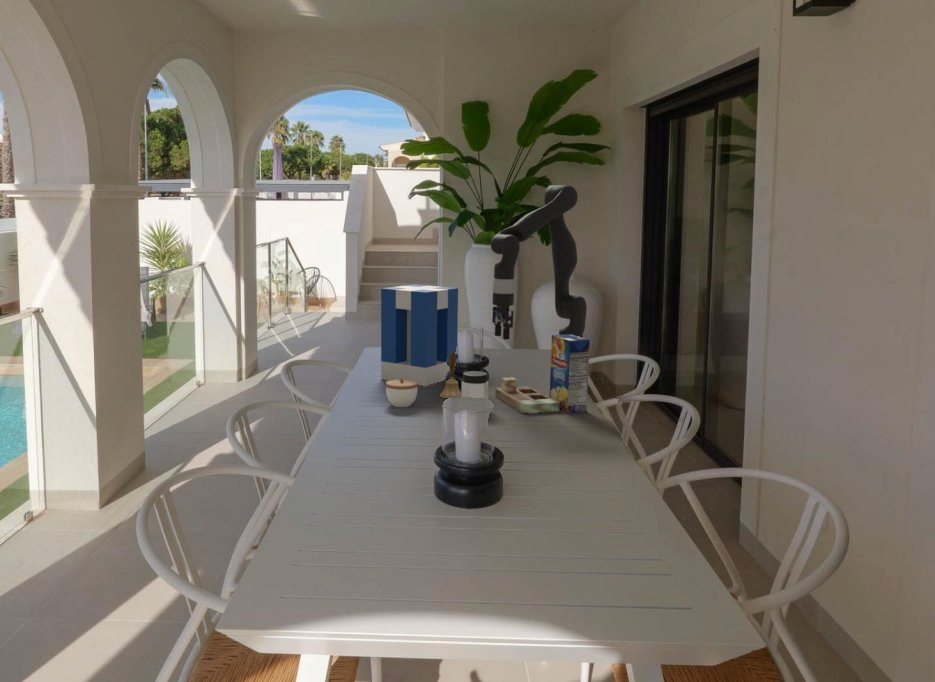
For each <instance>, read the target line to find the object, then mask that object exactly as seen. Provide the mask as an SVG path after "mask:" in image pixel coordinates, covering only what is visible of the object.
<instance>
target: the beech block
mask: <svg viewBox="0 0 935 682" xmlns="http://www.w3.org/2000/svg"><path fill="white" fill-rule="evenodd" d="M517 382H518V379H517V378H515V377H513V376H512V377H502V378H501V388H502V390H504V391H516V388H517V387H518V386H517Z"/></svg>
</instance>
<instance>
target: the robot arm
mask: <svg viewBox="0 0 935 682" xmlns="http://www.w3.org/2000/svg"><path fill="white" fill-rule="evenodd" d="M543 200H544V201H543V202H544V205H543V206H542V207H539V208H537V209H535V210H533V211H530V212H529V213H527V214H525V215H524V216H522V217H521V218H519V219H518V220H517V222H515V223H514V224H513V225H511V226H509V227H507V228H504V229H502V231H501V230H500V231H499V232H498V233H497V234H495V235H494V236H493V237H492V240H491V242H490V249H491V250H492V252H493V253H495V254H497V255H502V256H501V259H500V261H496V262H495V264H494V266H493V268H494V271H493V283H492V305H494V306H492V321H491V322H492V323H493V325H494V336H495V337H501V336H502V339H503V340H510V335H511V334H510V333H511V332H510V330H511V329H512V328H513V327H514V310H511V309H510V307H512V306H513V305H514V304H515V266H516V264H517V260H518V256H519V253H520V247H521V246H520V243H523V242H525V241H527V240H528V239H529V238H530V237H532V236H533V235H534V234H536V233H537V232H538V231H539V230H540V229H541V228H543V227H545V226H546V225H547V224H548V227H549V228H548V229H549V236H550V243H551V244H550V245H551V246H550V247H551V255H552V265H553V273H554V308H555V313H556V314H557V315H556V316H558V317H559V318H560V319H563V320H564V319H565V320H569V323H568V325H567V326H566V327H562V328H560V329H559V331H558V335H567V334H572V335H575V336H579V337H582V338H584V332H585V329H586V320H587V310H588V309H587V301H586V299H585V298H584V297H583V296H580V295H571V294H570V285H569V284H570V280H571V277H572V275H573V274H574V271H575V268H576V267H577V264H578V252H577V245H576V244H577V243H576V241H575V239H574V237H573V234H572V233H571V231H570V230H569V228H568V226H567V224H566V221H565V217H564V214H565V213H567V212H568V211H571V210H572V209H573V208H575V206H576V204H577V203H578V192H577V190H576V188H575V187H573V186H572V185H567V184H552V185H549V186H547V188H546V189H545V191H544V199H543ZM502 328H503V329H502Z"/></svg>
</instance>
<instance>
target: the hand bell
mask: <svg viewBox="0 0 935 682" xmlns="http://www.w3.org/2000/svg"><path fill="white" fill-rule="evenodd" d="M455 366H456V356H455V352H451V354H450V357H449V367H450V379H448V380H445V384H444V388H443V391H441V393H440V394H439V397H441V398H442V399H446V398H450V397H460V396H461V389H460V386H459V381H458V380H456V379H455V378H454V376H455V375H454V369H455Z"/></svg>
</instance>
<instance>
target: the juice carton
mask: <svg viewBox="0 0 935 682" xmlns="http://www.w3.org/2000/svg"><path fill="white" fill-rule="evenodd" d="M590 342H591V340H590V339H589V338H585V337H583V338H582V337H579V336H575V335H572V334H567V335H559V334H552V335H551V348H550V379H549V397H550V398H552V399H554V400H556V401H558V402H559V411H561V412H563V411H564V412H563V413H565V412H566V413H565V414H573V413H572V412H575V413H582V412H581V411H586V412H587V411H588V409H587V408H588V387H589V385H588V384H589V364H590V363H589V361H590Z"/></svg>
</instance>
